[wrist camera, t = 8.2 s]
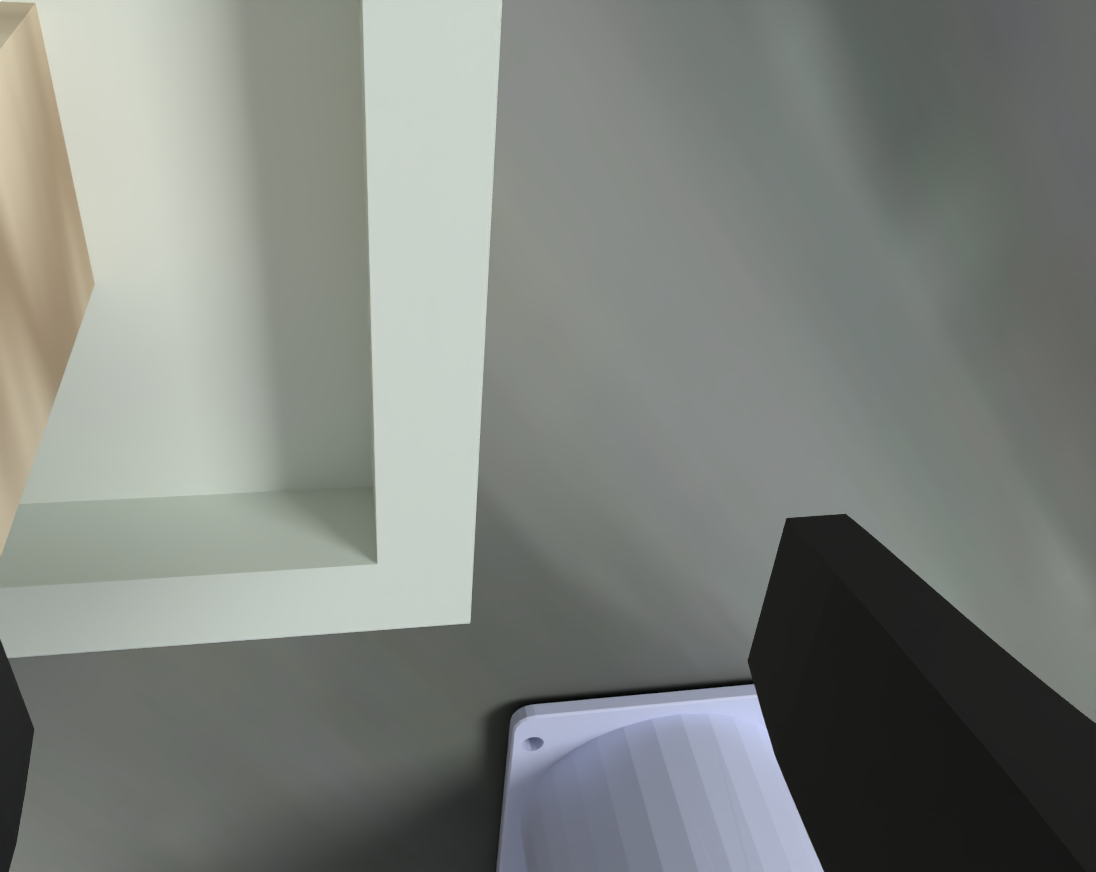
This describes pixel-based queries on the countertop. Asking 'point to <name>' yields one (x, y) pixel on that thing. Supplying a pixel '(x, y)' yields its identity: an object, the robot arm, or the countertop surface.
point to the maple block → (33, 252)
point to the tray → (264, 324)
